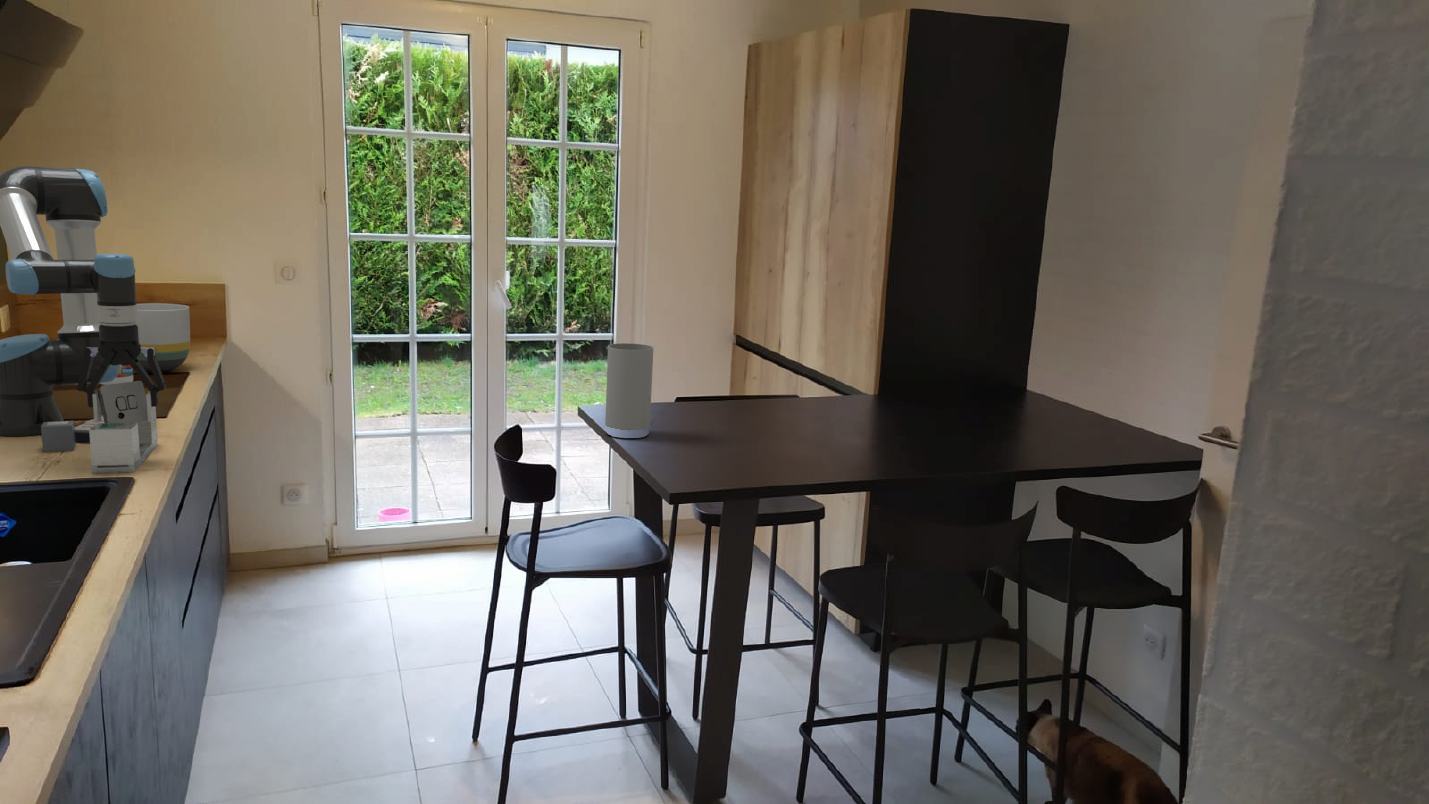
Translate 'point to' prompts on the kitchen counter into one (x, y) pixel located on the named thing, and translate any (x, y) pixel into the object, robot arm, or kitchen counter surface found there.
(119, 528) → the kitchen counter surface
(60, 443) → the block
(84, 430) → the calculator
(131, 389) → the electrical switch
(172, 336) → the planter
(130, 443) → the grey u-shaped block
